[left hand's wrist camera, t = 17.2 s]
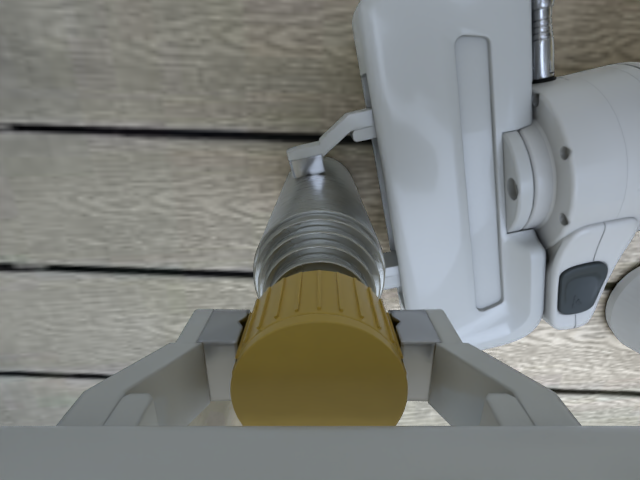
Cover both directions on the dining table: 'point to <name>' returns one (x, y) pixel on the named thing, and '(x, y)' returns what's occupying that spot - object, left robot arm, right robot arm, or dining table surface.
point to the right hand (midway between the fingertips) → (304, 219)
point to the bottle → (319, 232)
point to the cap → (319, 356)
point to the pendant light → (626, 310)
